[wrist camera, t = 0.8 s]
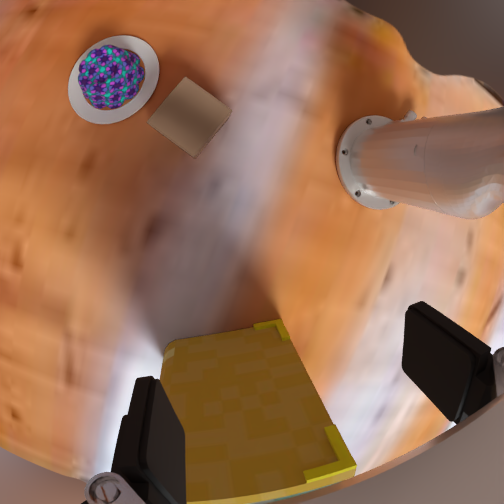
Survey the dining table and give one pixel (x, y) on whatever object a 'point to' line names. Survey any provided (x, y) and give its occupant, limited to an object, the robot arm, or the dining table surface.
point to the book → (251, 418)
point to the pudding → (113, 79)
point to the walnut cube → (189, 117)
